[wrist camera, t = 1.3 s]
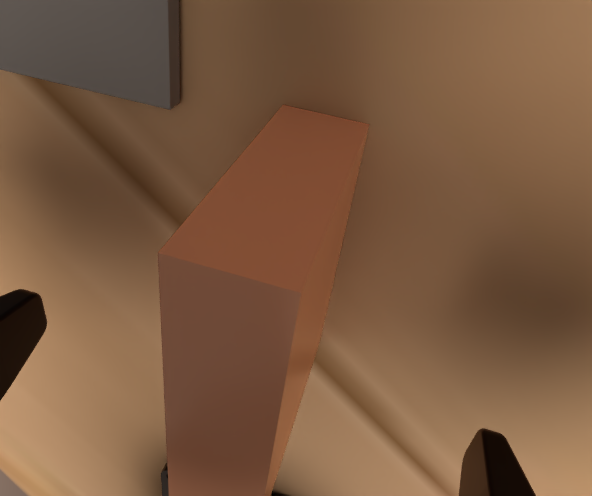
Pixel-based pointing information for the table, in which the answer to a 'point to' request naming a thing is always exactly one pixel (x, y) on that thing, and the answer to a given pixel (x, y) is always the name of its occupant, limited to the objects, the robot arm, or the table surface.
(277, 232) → the block
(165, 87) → the mat
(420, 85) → the table surface
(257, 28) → the table surface
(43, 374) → the table surface
